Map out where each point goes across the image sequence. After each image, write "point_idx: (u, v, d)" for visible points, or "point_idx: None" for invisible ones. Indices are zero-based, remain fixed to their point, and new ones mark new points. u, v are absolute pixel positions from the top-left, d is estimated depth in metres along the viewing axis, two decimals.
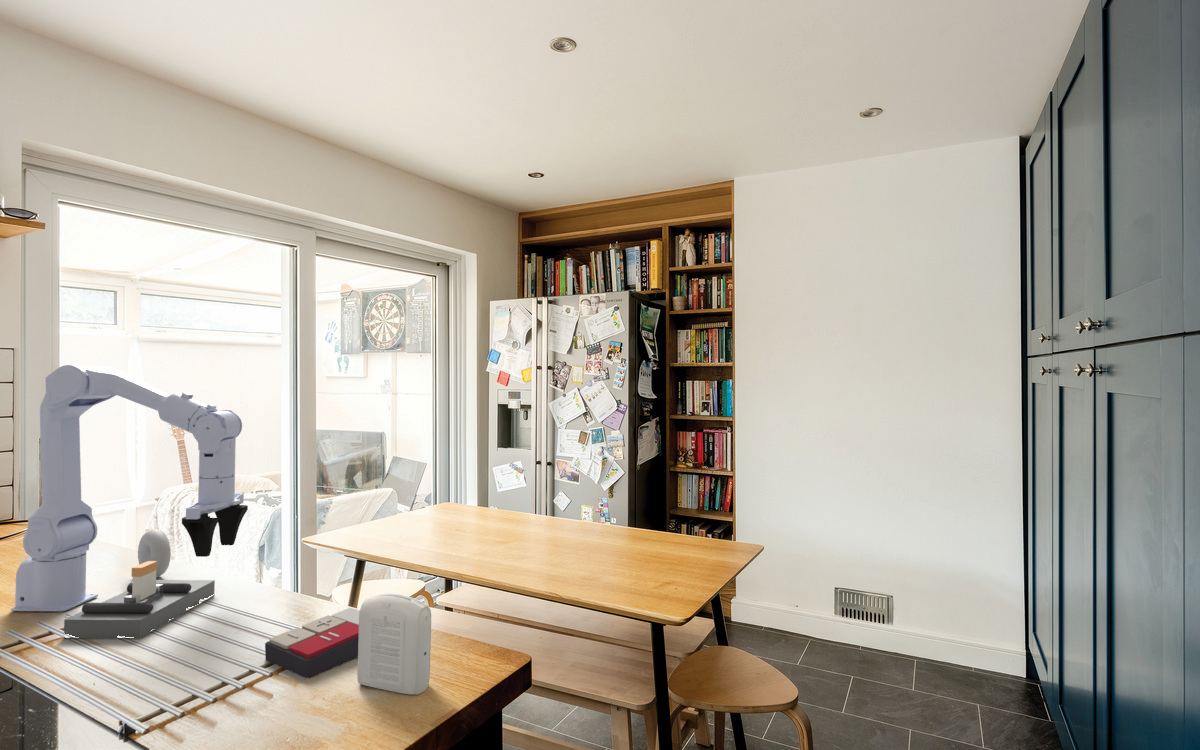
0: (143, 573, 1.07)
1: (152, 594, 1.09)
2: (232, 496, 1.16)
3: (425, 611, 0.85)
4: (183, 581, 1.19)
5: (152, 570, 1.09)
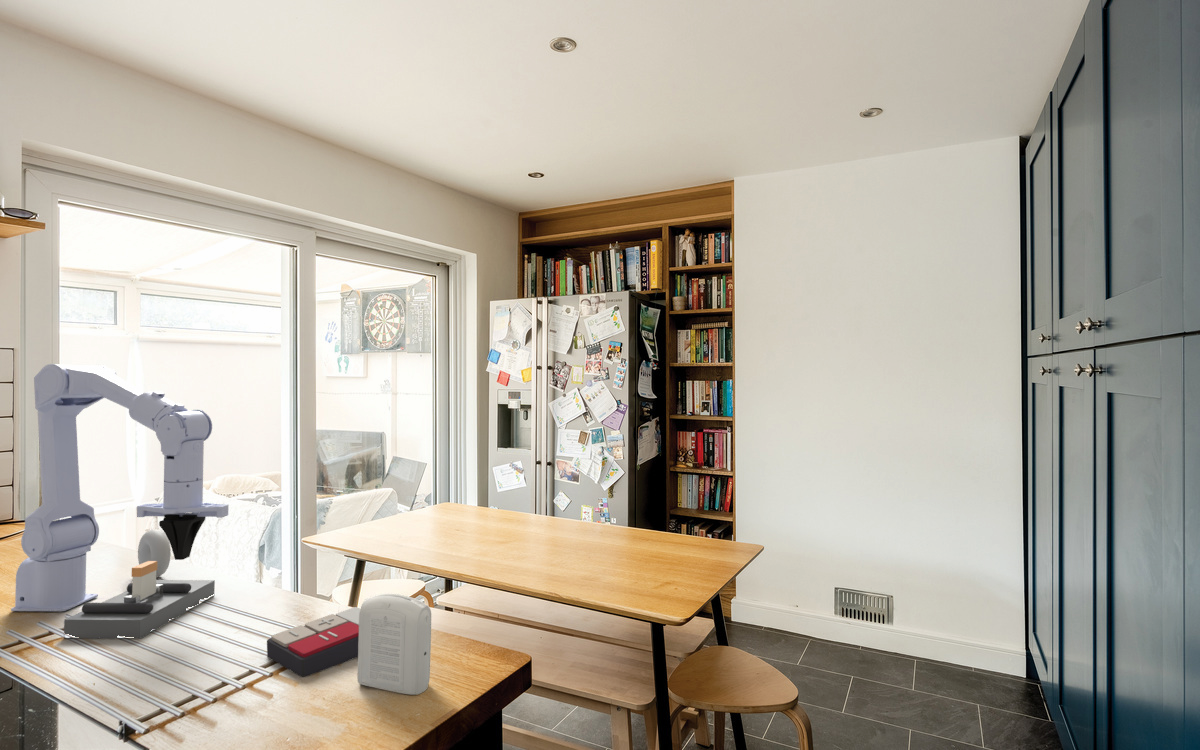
0: (143, 573, 1.07)
1: (152, 594, 1.09)
2: (173, 504, 1.06)
3: (425, 611, 0.85)
4: (183, 581, 1.19)
5: (152, 570, 1.09)
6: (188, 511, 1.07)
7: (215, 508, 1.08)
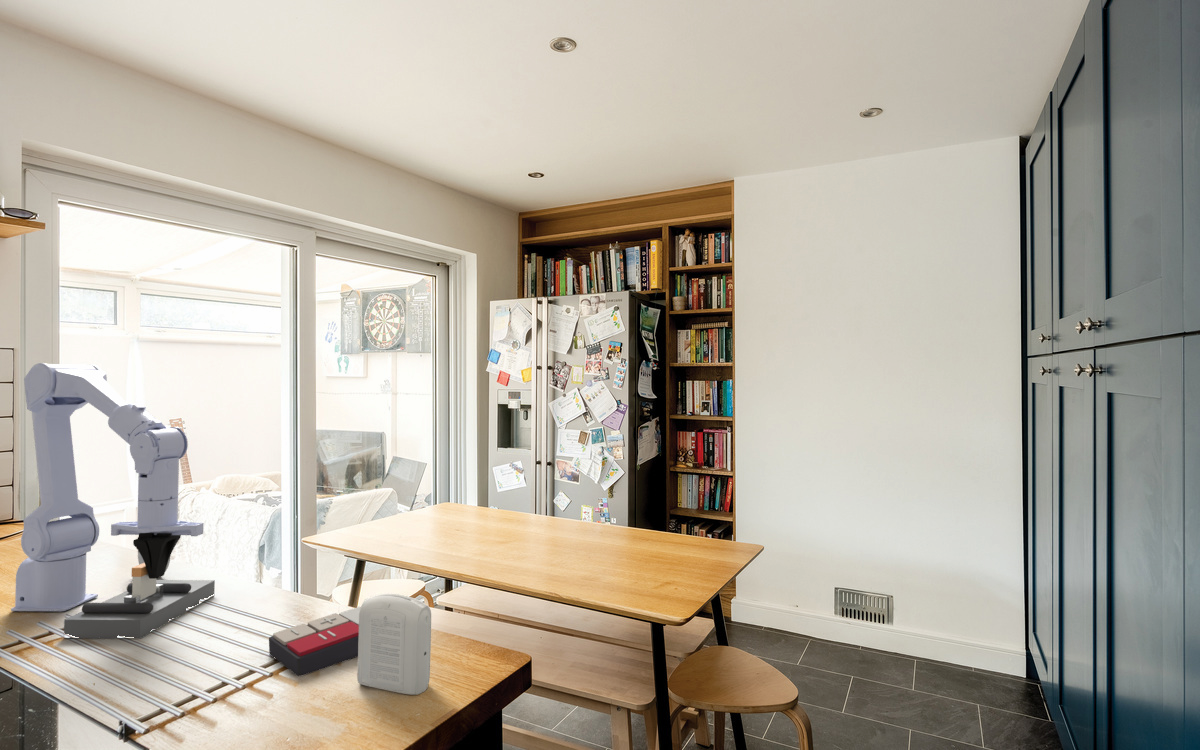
0: (143, 573, 1.07)
1: (152, 594, 1.09)
2: (147, 523, 1.06)
3: (425, 611, 0.85)
4: (183, 581, 1.19)
5: None
6: (162, 530, 1.06)
7: (189, 527, 1.07)
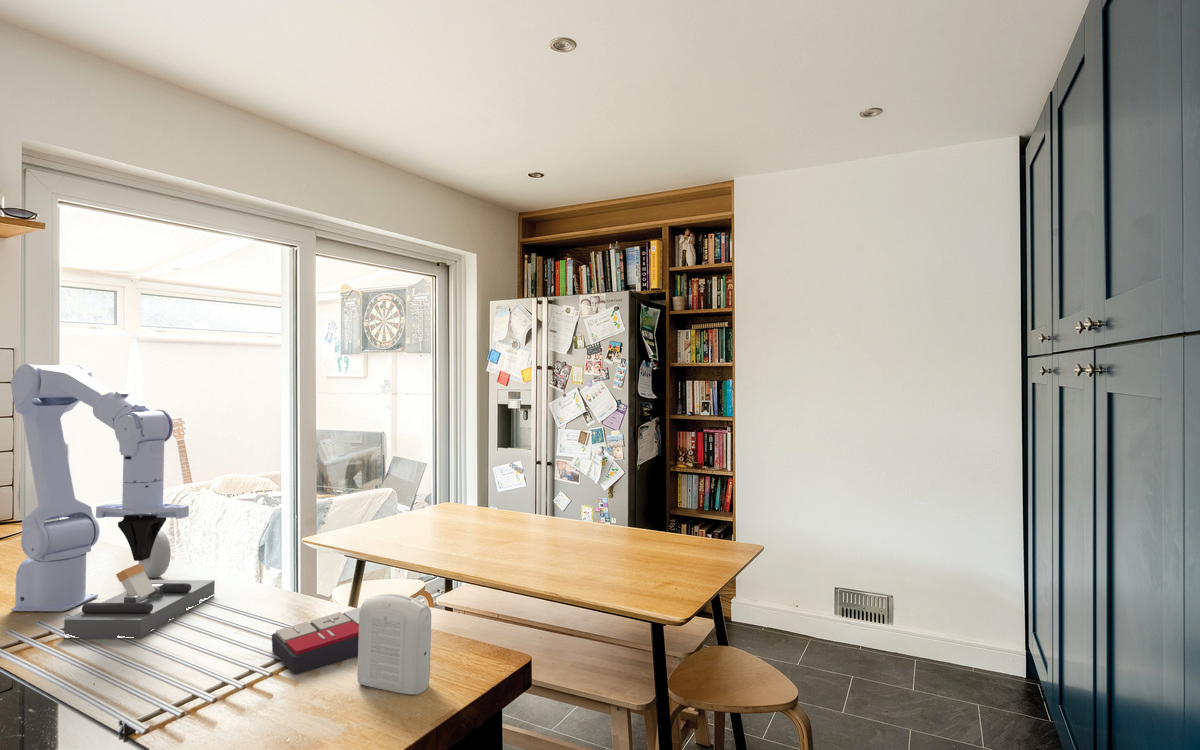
0: (129, 574, 1.07)
1: (152, 592, 1.09)
2: (132, 505, 1.06)
3: (425, 611, 0.85)
4: (183, 581, 1.19)
5: (139, 571, 1.09)
6: (147, 512, 1.06)
7: (174, 509, 1.07)
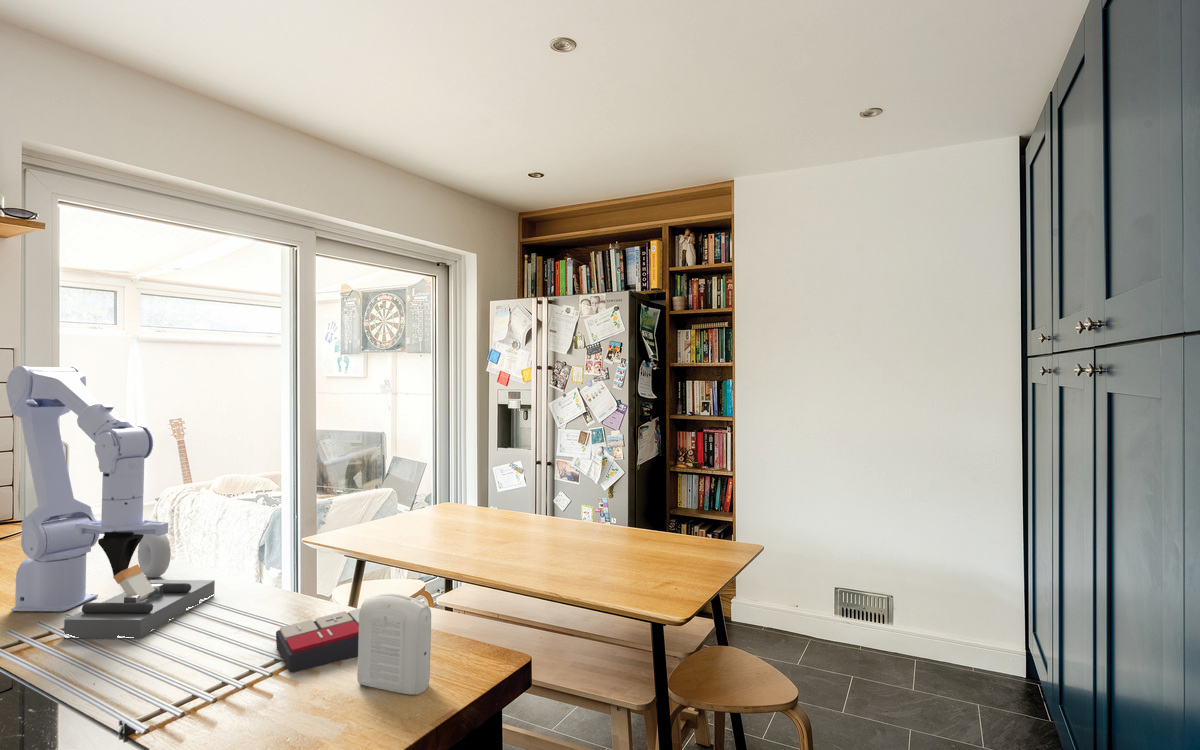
0: (126, 575, 1.07)
1: (152, 592, 1.09)
2: (110, 522, 1.05)
3: (425, 611, 0.85)
4: (183, 581, 1.19)
5: (136, 572, 1.09)
6: (126, 529, 1.06)
7: (154, 526, 1.07)
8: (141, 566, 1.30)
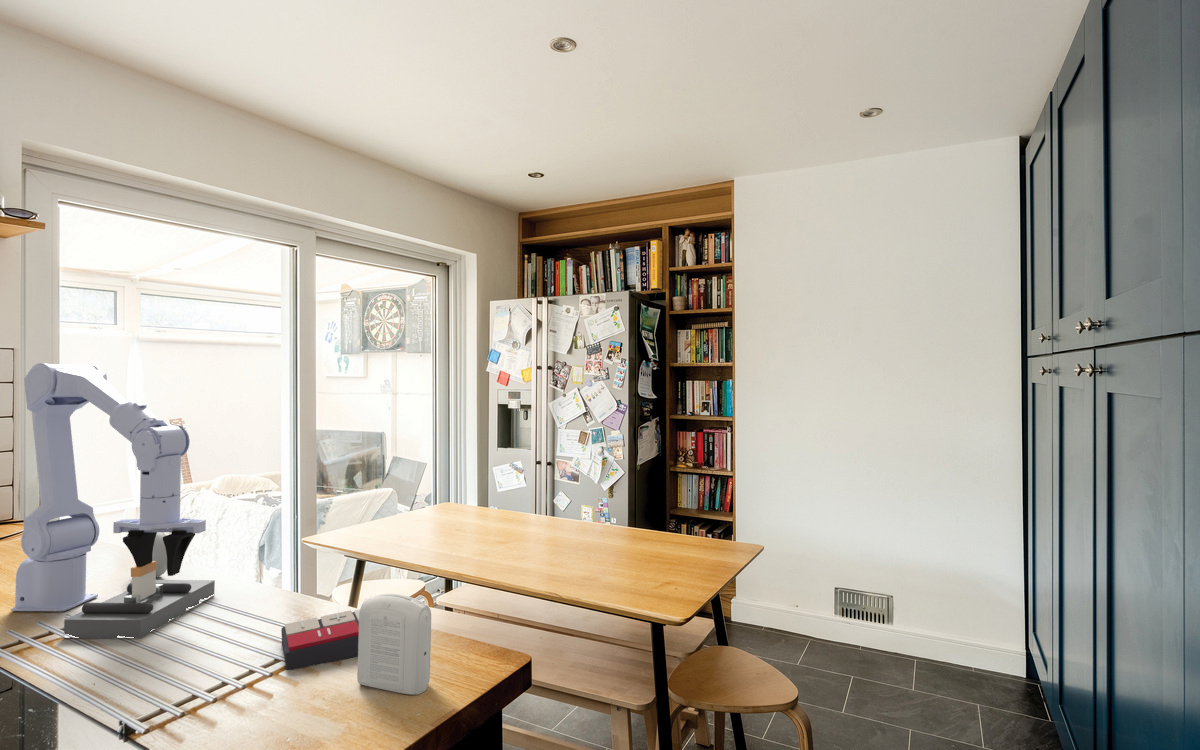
0: (142, 573, 1.07)
1: (152, 594, 1.09)
2: (149, 520, 1.06)
3: (425, 611, 0.85)
4: (183, 581, 1.19)
5: (151, 570, 1.09)
6: (164, 527, 1.06)
7: (192, 524, 1.07)
8: None
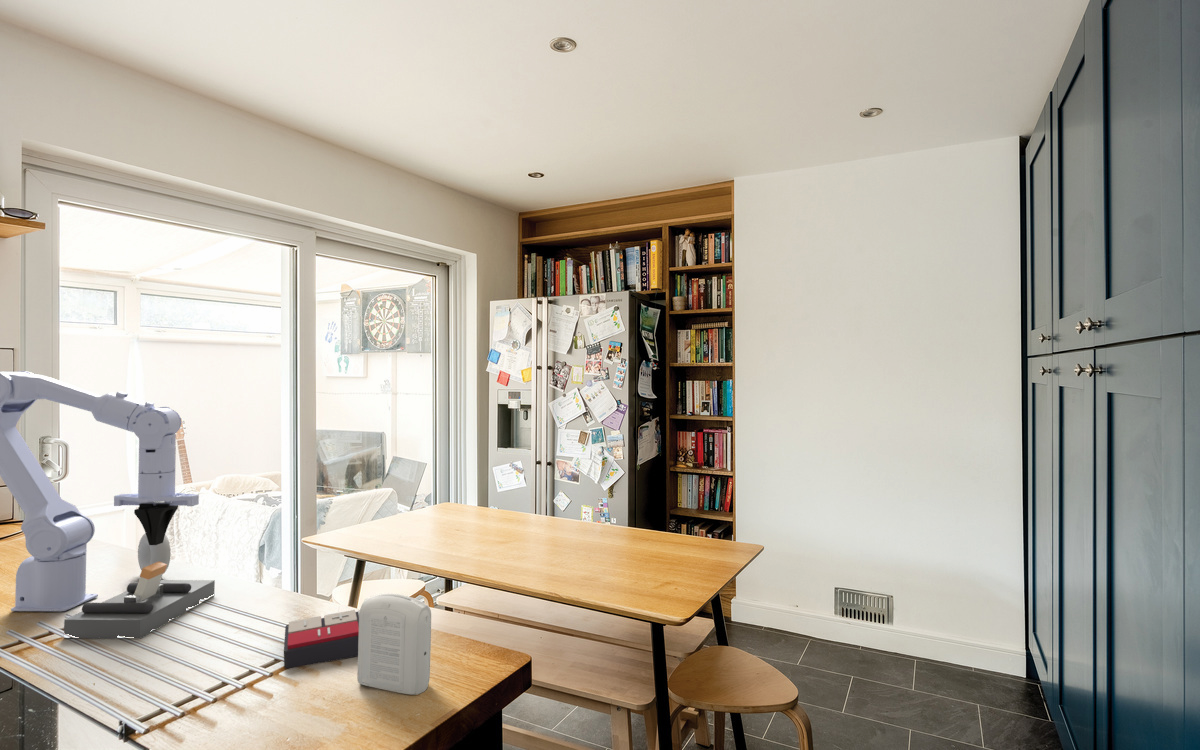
0: (151, 576, 1.07)
1: (152, 595, 1.09)
2: (147, 494, 1.15)
3: (425, 611, 0.85)
4: (183, 581, 1.19)
5: (160, 573, 1.09)
6: (161, 500, 1.16)
7: (186, 497, 1.17)
8: (141, 566, 1.30)
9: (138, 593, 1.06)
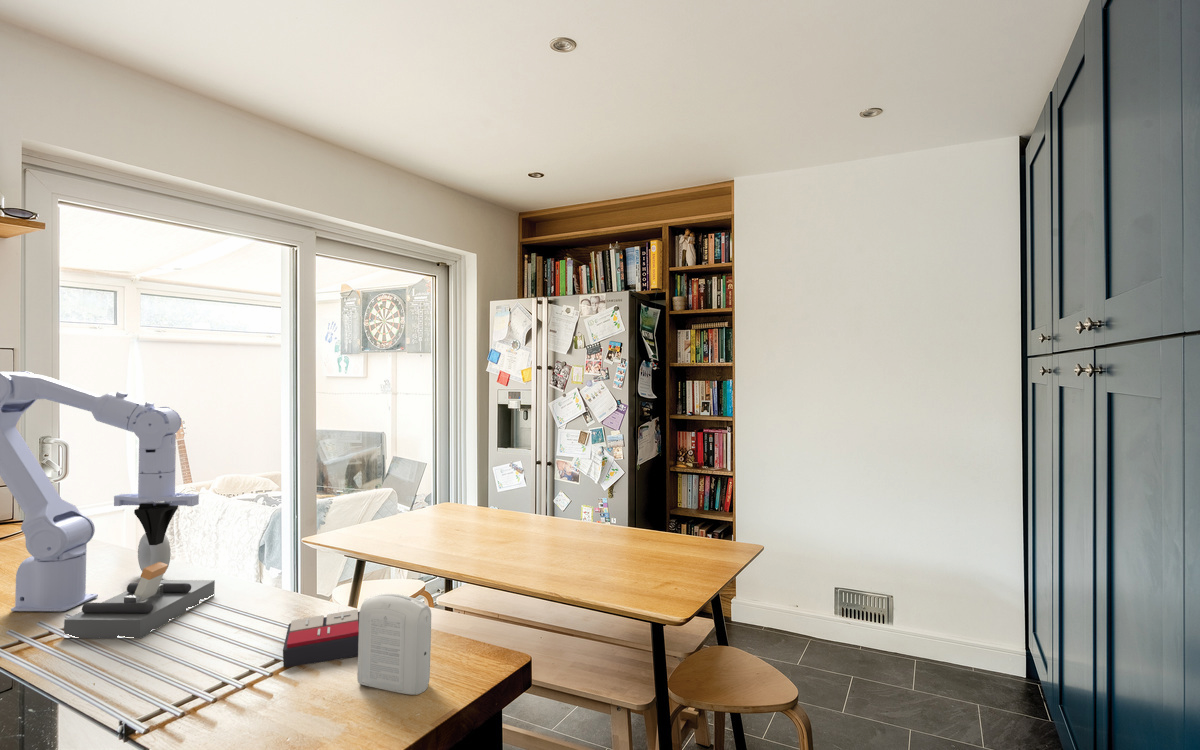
0: (152, 576, 1.07)
1: (152, 595, 1.09)
2: (147, 494, 1.15)
3: (425, 611, 0.85)
4: (183, 581, 1.19)
5: (160, 573, 1.09)
6: (161, 500, 1.16)
7: (186, 497, 1.17)
8: (141, 566, 1.30)
9: (138, 593, 1.06)
